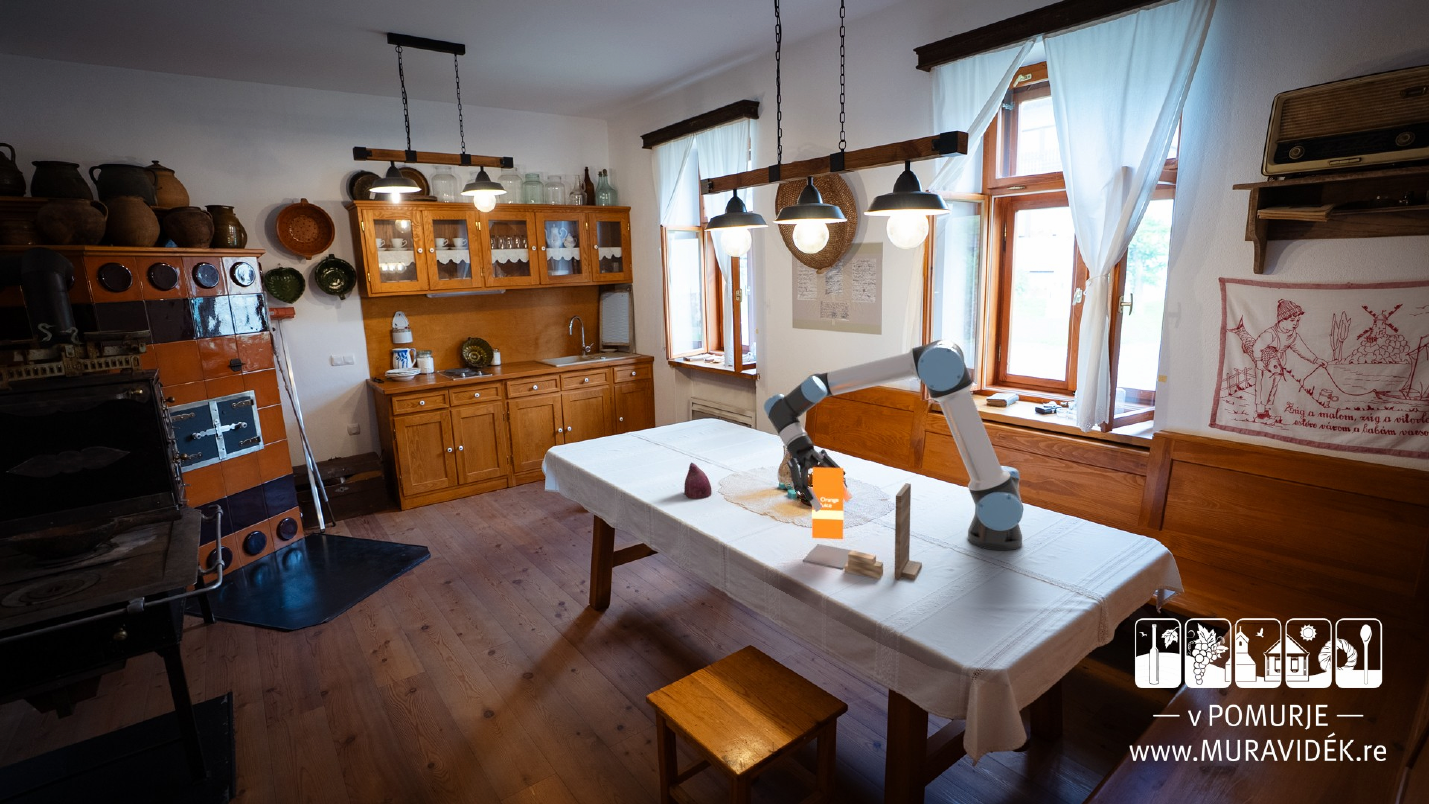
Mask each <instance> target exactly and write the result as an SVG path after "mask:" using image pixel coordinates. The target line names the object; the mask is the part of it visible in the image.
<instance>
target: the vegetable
mask: <svg viewBox="0 0 1429 804" xmlns="http://www.w3.org/2000/svg"><path fill="white" fill-rule="evenodd" d="M683 489H684V490H683V491H684V496H685V497H686V498H687V499H689V500H690V499H691V500H702V499H706V498H709V497H711V496H712V491H713V490H712V486H711V483H710V480H709V478H708V476H707V475H706V473H705V472H704V471H703V470H702V469H701V468H700V467H699V466H698V465H697V464H696V463H694V462H690V464H689V467H688V471H687V474H686V477H685V480H684V488H683Z"/></svg>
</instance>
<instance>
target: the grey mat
mask: <svg viewBox="0 0 1429 804" xmlns="http://www.w3.org/2000/svg"><path fill="white" fill-rule="evenodd" d="M851 551H852V549H847V548H842V547H836V546H831V545H826V544H825V545H824V544H819V543H818V544H816V545H815V546H814V547H813V549H811V551H810V552H809V553H807V555H806V556H805V557H804V558H803V559H802V561H803V562H804V563H810V564H814V565H818V566H820V565H821V566H824V567H829V568H830V567H831V568H834V569H838V570H839V569H840V570H844V566H845V565H846V564H847V562H848V554H849V553H850V552H851Z"/></svg>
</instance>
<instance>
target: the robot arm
mask: <svg viewBox="0 0 1429 804" xmlns="http://www.w3.org/2000/svg"><path fill="white" fill-rule="evenodd" d="M912 378H915V379H917V380H921V381H922V383H923V384H924V385H925V387H926V389H927V392H928V393H929V396H930V398H931V400H934V401H936V402H938V403H939V407H940V408H941V410H942V413H943V416H944V418H945V420H946V422H947V425H948V428H949V430H950V433H951V435H952V437H953V440H954V443H955V445H956V446H957V449H958V451H959V454H960V457H961V459H962V461H963V464H964V467H965V468H966V471H967V474H968V476H969V479H970V481H969V482H968V485H967V489H968V491H969V493H970V495H971V498H972V500H973V502H974V506H975V508H974V509H975V510H974V515H973V518H972V520H971V523H970V525H969V527H968V530H967V539H968V541H969V542H971V544H974V545H975V546H976V547H977V546H978V547H980V548H982V549H986V550H991V551H992V550H993V551H1012V550H1015V549H1019V548H1020V547H1022V545H1023V533H1022V530H1021V527H1020V524H1019V523H1020V522H1021V520H1022V518H1023V513H1024V505H1023V503H1022V497H1021V494H1020V479H1021V478H1020V472H1019V470H1018V469H1017V468H1015V467H1011V466H1007V465H1001V464H1000V462H999V459H998V457H997V454H996V451H995V449H994V447H993V444H992V442H991V440H990V437H989V435H988V432H987V430H986V427H985V424H984V423H983V419H982V418H981V415H980V413H979V411H978V407H977V405H976V403H975V400H974V398H973V396H972V395H973V394H972V393H971V388H972V386H973V384H974V383H973V380H972V377H971V375H970V372H969V370H968V368H967V365H966V363H965V355H964V352H963V350H962V348H961V347H960V346H959V345H958V344H957V343H955V342H953V341H952V340H948V339H937V340H934V341H931V342H929V343H927V344H923V345H920V346H917V347H916V346H915V347H913V348H911V349H910V350H909V351H908V352H906V353H902V354H898V355H893V356H889V357H885V358H881V359H878V360H873V361H867V362H865V363H864V362H863V363H860V364H856V365H853V366H852V365H851V366H848V367H847V366H846V367H844V368H840V369H836V370H832V371H827V372H823V373H813V374H811V375H809V376H808V377H807V378H806V379H804V380H803V381H802V382H801V383H800V384H799V385H798V386H796V387H794V389H792V390H791V391H790V392H789V393H788V394H786V395H784V394H782V393H778V394H775V395H773V396H771V397H769V398H768V399H767V400H766V401H765V402H764V404H763V409H764V411H765V414H766V415H767V418H768V420H769V421H770V423H771V424H772V426H773V428H774V430H775V431H776V432H777V434H778V437H779V438H780V439H781V441H782V443H783V444H784V446H785V447H786V450H787V452H788V453H789V455H790V457H791V458H790V459H788V461H787V462H786V465H787V466H788V469H789V471H790V474H791V479H792V484H793V485H794V489H795V491H796V492H798V491H799V492H800V493H801V494H802V493H803V494H804V495H805V497H806V499H807V500H808V501H807V500H806V499H805V500H806V501H807V502H809V503H810V505H811V507H812V506H813V508H814V510H815V511H816V512H818V511H819V510H820V509H821V508H822V505H821V503H820V502H819V500H818V498H817V496H816V495H815V493H814V491H813V490H812V488H811V487H810V488H808V485H809V470H810V469H812V470H813V467H815V468H841V467H840V466H839V465H838V463H836V461H835V460H833V459H832V458H831V457H830V456H829V455H828V453H827V451H826V450H825V449H822V450H820V451H817V450H815V446H814V445H815V444H814V443H813V441H812V439H811V438H810V436H809V435H808V432H807V431H806V429H805V428H804V426H803V425H802V423H801V421H800V420H799V418H800V417H801V416H802V415H803V414H804V413H806V412H807V411H809V410H810V409H811V408H813V407H814V406H816V404H818V403H820V402H821V401H822V400H824V398H828V397H833V396H837V395H841V394H845V393H850V392H855V391H858V390H863V389H868V388H872V387H877V386H881V385H885V384H890V383H895V382H900V381H904V380H909V379H912ZM846 474H847V473H846V472H845V471H844V469H843V477H844V476H845V475H846ZM843 497H844V499H843V501H844V502H845V503H848V502H849V501H850V500H851V499H852V498H853V495H852V494H851V492H850V491H849V489H848V485H847V483H846V482H845V480H844V479H843Z"/></svg>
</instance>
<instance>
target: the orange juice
mask: <svg viewBox="0 0 1429 804" xmlns="http://www.w3.org/2000/svg"><path fill="white" fill-rule="evenodd" d="M843 470H844V468H843V467H840V468H815V467H813V469H812V485H813V487H812V490H813V491H814V493H815V495H816V496H817V498H818V500H819V502H820V503H821V505H822V508H821V509H820V510H819V511H818V512H816V511H815V510H814V508H813V506H812V505H811V507H812V508H811V521H812V524H811V526H812V527H811V528H812V529H811V530H812V534H811V536H812V539H826V540H827V539H829V540H830V539H831V540H844V506H845V505H844V497H843V480H844V476H843Z"/></svg>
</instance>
